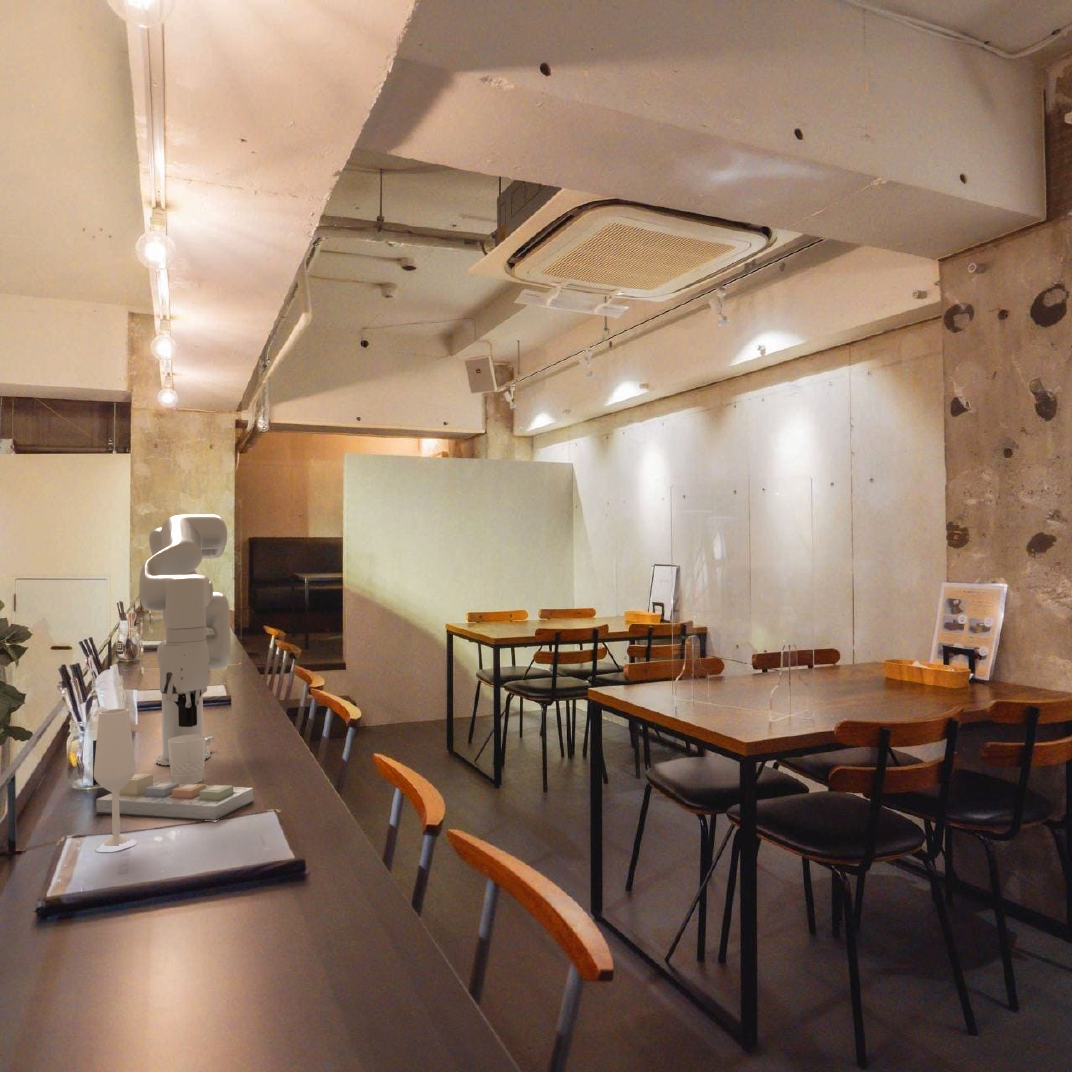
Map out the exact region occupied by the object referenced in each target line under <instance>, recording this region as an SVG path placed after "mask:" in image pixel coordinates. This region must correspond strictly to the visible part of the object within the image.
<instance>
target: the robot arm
mask: <svg viewBox="0 0 1072 1072" xmlns="http://www.w3.org/2000/svg"><path fill="white" fill-rule="evenodd" d="M162 523H163V524H162V525H161V526H160V527H157V528H155V529H152V530H151V532H150V533H149V535H148V541H149V549H150V552H151V557H149V558H148V559H147V560H146V561H145V562H144V564H143V565H142V567H141V570H140V573H139V585H138V590H139V591H138V592H139V593H138V596H139V602H140V604H141V606H142V608H144V609H146V610H147V611H150V612H161V611H162V619H163V624H164V627H165V639H163V640H161V642H159V644H158V646H157V649H156V657H157V662H158V663H157V664H158V668H159V669H158V670H159V690H160V693H161V718H162V719H161V722H162V723H161V724H162V728H161V729H162V731H161V732H162V754H160V755H158V756H157V757H156V759H155V762H156V764H157V763H158V765H159V764H161V765H160V766H167V765H170V763H169V750H168V740H169V739H171V738H173V737H177V736H182V735H191V734H200V735H204V703H203V700H204V698H203V695H204V694H205V693H206V692H207V691H208V687H209V685H210V684H211V671H220V670H224V669H226V668H228V667H229V666H230V663H231V659H232V639H231V638H232V637H231V636H232V635H231V613H230V603H229V599H228V598H227V596H226V595H225V594H224V593H222V592H217V591H214V585H213V582H212V581H211V580H210V578H209V577H208V576H207V575H204V574H200V573H199V574H198V572H197V570H196V569H197V568H198V567H199V566H200V565H201V562H202V560H205V559H206V560H207V559H211V560H213V559H218V558H220V557H222V555H224V552H225V550H226V549H225V548H226V546H227V542H228V528H227V525H226V522H225V521H224V519H223V518H222V517H221V516H219V515H217V514H177V515H172V516H170V517H168V518H166V519H165V520H164V521H163V522H162ZM207 630H210V631H211V632H212V633H208V634H207ZM213 743H215V737H214V736H212V735H210V736H208V737H205V760H207V759H209V758H210V757H211V751H210V750H208V749H206V747H207V746H209V745H211V744H213ZM206 758H207V759H206Z"/></svg>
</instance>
